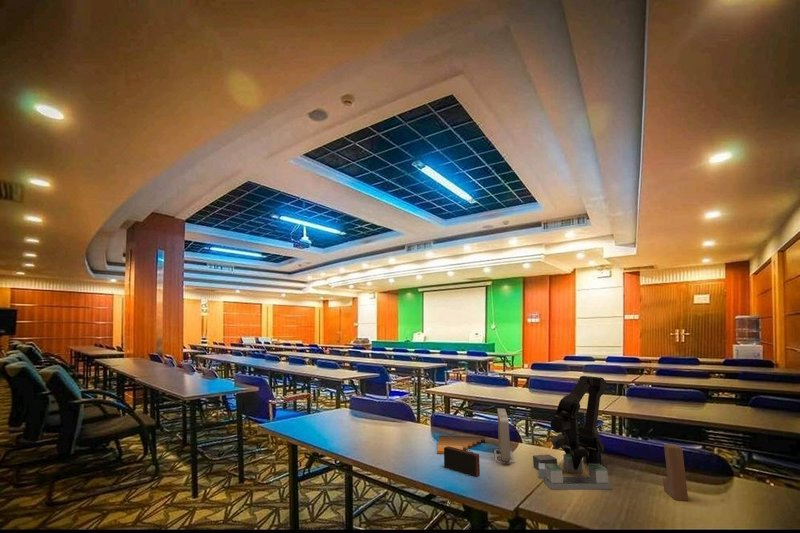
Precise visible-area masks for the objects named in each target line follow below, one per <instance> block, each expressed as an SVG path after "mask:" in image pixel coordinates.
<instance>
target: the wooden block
mask: <svg viewBox="0 0 800 533" xmlns="http://www.w3.org/2000/svg"><path fill="white" fill-rule="evenodd" d="M663 447H664V458H665V467H666V477H662V484H663V485H662V486H663V490H664V492H666V493H667V494H668V495H669V496H670V497H671V498H672V499H673V500H674V501H683V502H684V501H685V502H686V501H689V496H688V487H687V478H686V470H685V469H686V468H685V460H684V452H683V447H681V446H679V445H678V444H674V443H664V444H663Z"/></svg>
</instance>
